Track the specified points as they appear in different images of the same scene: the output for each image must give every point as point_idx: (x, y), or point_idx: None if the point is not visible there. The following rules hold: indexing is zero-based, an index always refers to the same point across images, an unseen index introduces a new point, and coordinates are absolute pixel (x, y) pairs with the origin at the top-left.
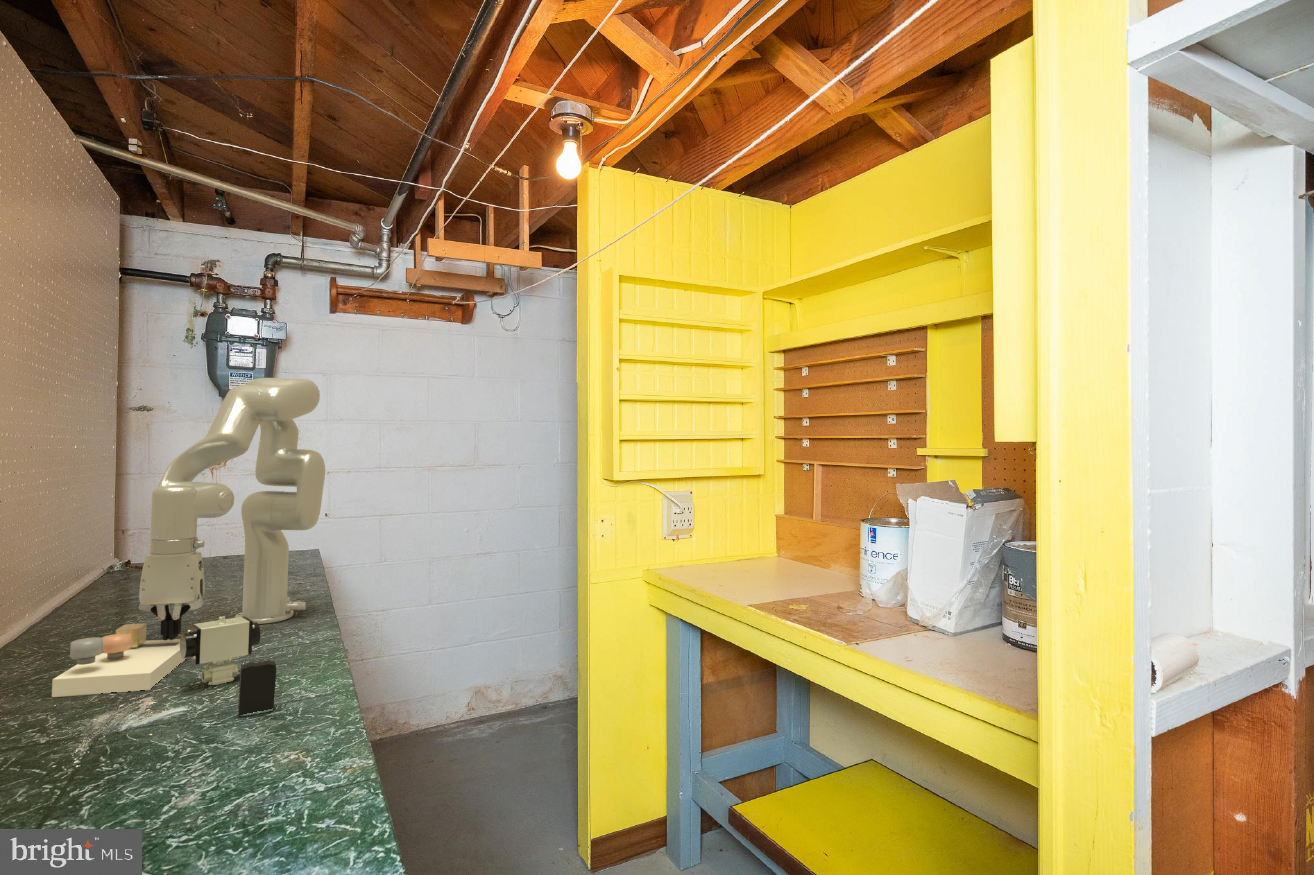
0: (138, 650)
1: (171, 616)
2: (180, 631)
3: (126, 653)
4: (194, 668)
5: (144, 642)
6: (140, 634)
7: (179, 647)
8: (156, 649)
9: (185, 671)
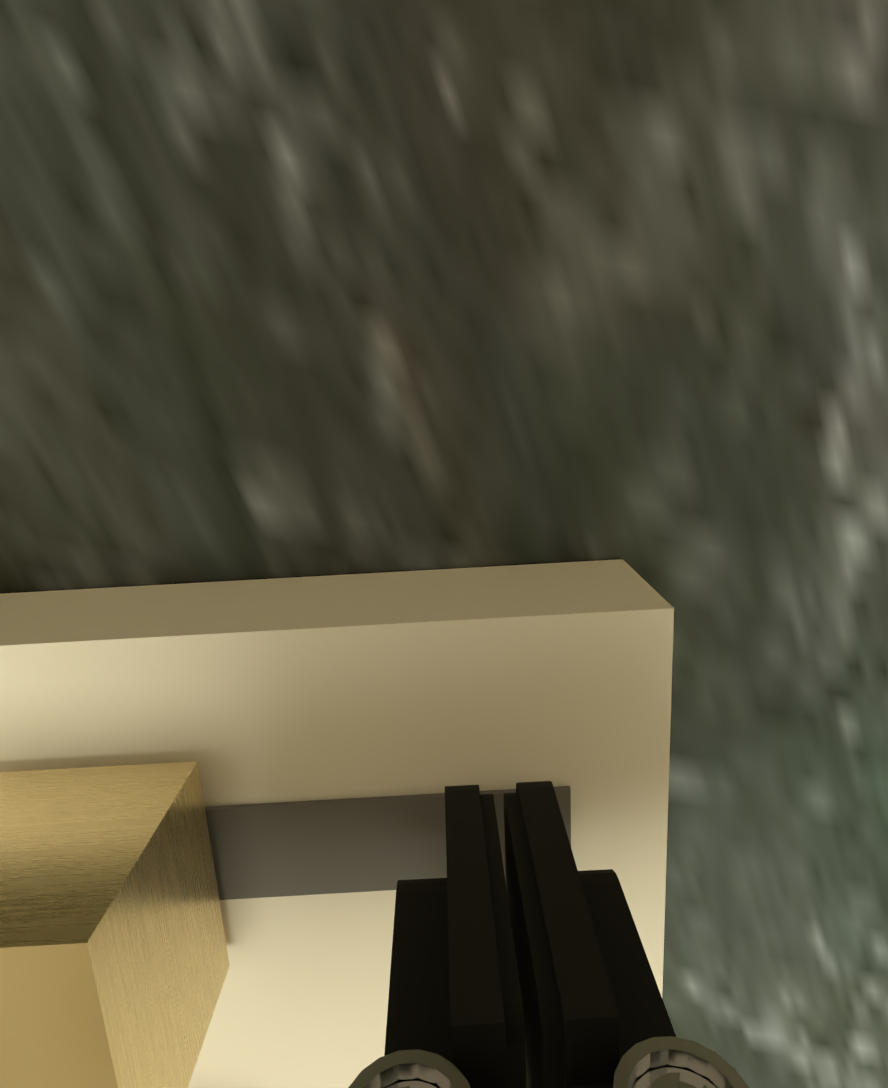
0: (274, 992)
1: (485, 1031)
2: (612, 877)
3: (211, 1062)
4: (757, 980)
5: (171, 713)
6: (174, 1023)
7: None
8: None
9: (712, 1033)
